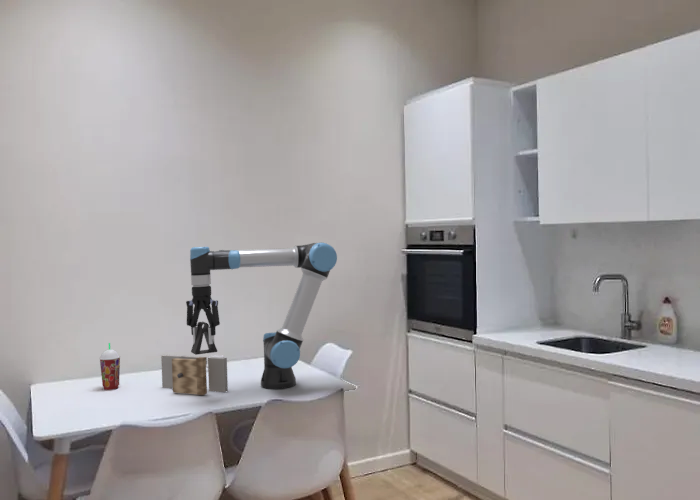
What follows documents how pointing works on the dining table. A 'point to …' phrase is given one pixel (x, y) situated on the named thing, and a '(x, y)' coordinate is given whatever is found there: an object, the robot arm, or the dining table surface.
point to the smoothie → (110, 369)
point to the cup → (215, 356)
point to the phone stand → (199, 338)
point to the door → (189, 376)
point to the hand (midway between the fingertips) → (203, 343)
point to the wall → (215, 372)
